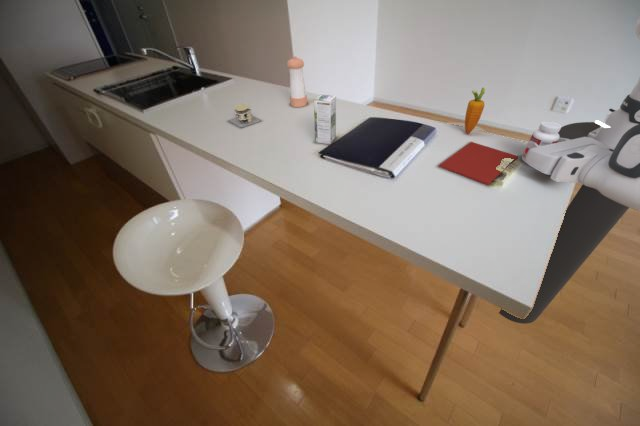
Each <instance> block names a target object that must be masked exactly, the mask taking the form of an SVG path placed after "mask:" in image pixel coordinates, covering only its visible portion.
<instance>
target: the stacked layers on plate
mask: <svg viewBox="0 0 640 426" xmlns="http://www.w3.org/2000/svg"><path fill="white" fill-rule="evenodd" d="M233 108H234V112H235V113H236V114H235V116H236V118H234V119H231V120H229V123H232V124H233V125H235V126H237V127H239V128H241V129H242V128H245V127H248V126H251V125H254V124H256V123H260V122H261V120H260V119H257V118H256V117H254V116H253V114H252V113H251V112H252V109H251V106H250V105H248V104H244V103H240V104H237V105H234V106H233Z"/></svg>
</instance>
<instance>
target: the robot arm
mask: <svg viewBox="0 0 640 426" xmlns="http://www.w3.org/2000/svg"><path fill="white" fill-rule="evenodd" d="M635 34H636V37H637V38H638V40H640V16H638V18H637V21H636V24H635ZM608 111H609V112H610V113H608V114H607V115H606V117H605V119H604V121H603V122H602V121H600V120H597V119H596V120H595V121H594V122H595V123H597V124H599V125H601V127H600V128H598V129H596V130H594V131H592V132H590V133H589V134H588V135H587V136H588V137H581V138H577V139H572V140H570V139H566V138H559V140H558V142H557V143H554V144H549V145H544V146H541V145H539V146H538V144H537V143H538V142H536V141H534V140H532V141H530V140H528V141H527V143H526V145H525V146H526V147H528V148H530V149H529V150H528V152H527V154H526V157H525V162H524V163H526V165H528V166H529V167H531V168H533V169H535V170H536V171H538V172H539V173H542V174H544V175H547V176H548V175H549V176H550V180H552V181H554V182H557V183H575V184H581V185H585V186H587V187H591V188H594V189H597V190H598V191H599V192H600V193H601V194H602V195H604V196H606V197H607V198H609V199H611V200H613V201H615V202H617V203H620V204H622V205H624V206H626V207H629V209H632V210H634V211H640V77H639V78H638V80H637V82H636V83H635V85H634V88H633V89H632V90H631V92H630V93H629V94H627V95H626V96H625V98H624V99H623V101H622V103H621V105H620V106H619V108H618V109H614V108H609V109H608ZM609 149H613V150H614V151H613V152H612V151H610V150H609Z"/></svg>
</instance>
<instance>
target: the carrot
mask: <svg viewBox="0 0 640 426" xmlns="http://www.w3.org/2000/svg"><path fill="white" fill-rule="evenodd" d="M485 91H486V88H485V87H482V88H481V90H480V93H478V91H477V90H472V91H471V93H472V94H473V96H474V99H470V100H469V101H468V104H467V107H466V111H465V117H464V130H465V134H466V135H469V134H471V132H473V130H474V129H475V128H476V126H477V125H478V123H479V121H480V119H481V116H482V115H483V111H484V108H485V101H483V100H482V98H483V96H484V95H485V93H486V92H485Z"/></svg>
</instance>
